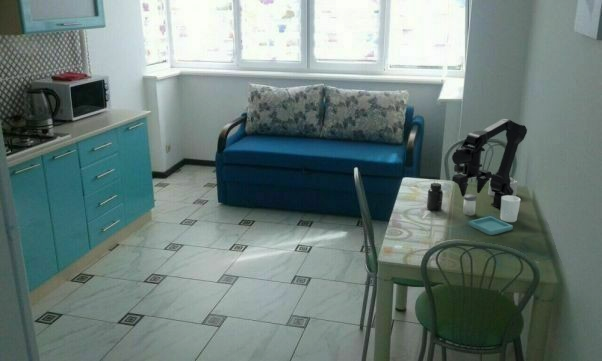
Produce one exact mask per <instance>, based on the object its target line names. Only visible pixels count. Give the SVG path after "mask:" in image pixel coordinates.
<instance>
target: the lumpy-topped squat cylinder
mask: <svg viewBox="0 0 602 361" xmlns="http://www.w3.org/2000/svg"><path fill="white" fill-rule="evenodd" d="M490 180H491V178H489V181H488V182H489V183H488V184H489V185H488V196H492V197H494V194H495V192H492V191H491V186H490ZM510 180H511V182H510V187H511V188H512V189H513V191H514V192H513V194H512V195H511V196H516V197H517V191H518V190H517V188H518V180H516V179H514V178H513V177H510Z"/></svg>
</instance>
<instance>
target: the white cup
mask: <svg viewBox="0 0 602 361" xmlns="http://www.w3.org/2000/svg"><path fill="white" fill-rule="evenodd" d="M520 205H521V198H520V197H518V196H517V195H516V196H510V195H506V196H502V197H501V208H500V220H501V221H503V222H505V223H515V222H517V221H518V220H517V219H518V215H519V210H520Z"/></svg>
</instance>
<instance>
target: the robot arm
mask: <svg viewBox="0 0 602 361" xmlns="http://www.w3.org/2000/svg"><path fill="white" fill-rule="evenodd" d="M504 131H505V138H506V145H505V148H504V152H503V153H502V154H503V155H502V157H501V162H500V164H499V167H498V171H497V172H496V173H495V174H494V173H492V172H491V171H490V170H487V169H484V168H483V169H481V168H482V167H483V164H482V163H481V160H482V159H481V158H482V152H485V151H486V149H485V148H484V146H486V144H487V143H488V141H489V140H490V139H492V138H493V137H495V136H497V135H499V134H501V133H503V132H504ZM527 132H528V129H527V126H526V125H524V124H520V123H517V122H514V121H512V119H508V118H501V119H500V120H499V121H497V122H495V123H493V124H491V125H489V126H488V127H486V128H484V129H482V130H475V131H472V132H469V133H468V134H467V135H466V138H465V139H464V141H463V142H462V144H461V146H460V148H456V149H455V152H453V154H452V156H451V159H452V162H453V164H454V167H453V171H454V173H456V174H454V175H453V176H452V182H454V183H455V184H457V186H458V187H459V191H460V195H461V197H463V198H464V196H465V195H466V192H467V188H468V185H469V183H468V182H469V180H472V179H476V181H477V183H476V193H477V194H480V193H481V191H482V189H483V188H484V187H485V186H486V184H487V182H490V186H491V191H492V192H495V194H494V196H493V200H492V203H490V205H491V206H494V207H496V208H498V209H501V197H502V196H506V195H510V196H511V195H512V194H513V192H514V191H513V189H512V188H511V187H510V182H511V180H510V173H511V169H512V166H513V163H514V159H515V156H516V153H517V150H518V146H519V144H521V143H522V142H523V141H524V139H525V138H526V135H527ZM490 179H491V180H490Z"/></svg>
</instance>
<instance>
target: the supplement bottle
mask: <svg viewBox="0 0 602 361" xmlns="http://www.w3.org/2000/svg"><path fill="white" fill-rule="evenodd" d="M429 186H430V188H429V189H428V191H427V198H426V199H427V200H426V209H427V210H428V211H433V212H437V211H438V212H439V211H441V210H442V208H443V199H444V198H443V195H444V191H443V189H442V184H441V183H437V182H432V183H430V185H429Z"/></svg>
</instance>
